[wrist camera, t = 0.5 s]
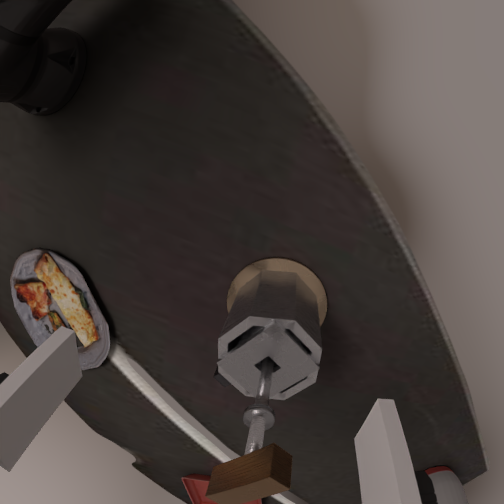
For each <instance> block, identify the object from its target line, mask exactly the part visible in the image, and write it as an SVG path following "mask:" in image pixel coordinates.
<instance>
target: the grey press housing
mask: <svg viewBox="0 0 504 504" xmlns="http://www.w3.org/2000/svg"><path fill="white" fill-rule="evenodd" d="M227 309H228V317H227V319H226V321H225V324H224V326H223V328H222V331H221V333H220V336H219V338H218V360H217V364H218V366H217V369H216V372H215V374H214V378H215V379H216V380H217V381H218V382H220V383H221V384H222V385H223V386H224V387H226V386H228V385H230V384H232V385H233V386H235V387H236V388H237V389H238V390H239V391H240V392H241V393H243V394H244V395H245V396H250V397H255V398H256V394H257V389H258V383H259V378H260V373H261V366H260V365H259V364H258V362H260V361H261V360H263V359H264V358H266V357H267V356H269V357H270V358H271V359H273V360H274V361H275V362H276V363H277V364H278V365H279V366H277V367H275V368H274V369H273V375H272V382H271V389H270V397H269V399H278V400H285V399H287V398H289V397H291V396H293V395H294V394H296V393H298V392H300V391H301V390H303V389H305V388H307V387H308V386H310V385H312V384H313V383H315V382H316V378H317V374H318V369H320V364H319V363H320V358H321V353H322V341H321V331H320V327H321V325H322V323H323V321H324V319H325V316H326V312H327V298H326V293H325V289H324V287H323V284H322V282H321V281H320V279H319V278H318V276H317V275H316V274H315V273H314V272H313V271H312V270H311V269H310V268H308V267H307V266H306V265H304V264H302V263H300V262H298V261H296V260H293V259H289V258H284V257H268V258H263V259H260V260H257V261H254V262H252V263H251V264H249V265H247V266H246V267H245V268H243V269H242V270H241V271H240V272H239V273H238V274H237V276H236V277H235V278H234V280H233V282H232V284H231V286H230V289H229V291H228V296H227ZM252 326H263V327H264V328H262V329H261V330H259V331H258V332H256V333H255V334H254V335H252V336H251V337H249V338H248V339H246V340H245V341H244V342H242V343H241V344H239V341H240V338H241V336H242V334H243V333H244V332H245V331H246V330H248V329H249V328H250V327H252ZM286 329H290V330H291V331H292V332H293V333H294V334H295V335H296V336H297V337H298V338H299V339H300V340H301V342H302V345H301V344H300V343H299V342H298V341H297V340H296V339H295V338H294V337H293V336H292V335H291V334H290V333H289V332H288V331H287V330H286Z"/></svg>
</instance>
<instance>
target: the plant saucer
mask: <svg viewBox="0 0 504 504" xmlns="http://www.w3.org/2000/svg"><path fill="white" fill-rule="evenodd" d="M210 478H211V476H208V475H200V474H191V475H187V476H185V477H182V481H183V483H184V485H185V488H186V490H187V492H188V494H189V496H190V498H191V500H192V502H193V504H218V503H216V502H214V501H212V500H211V499H209V498H207V497H205V495H206V491H207V488H208V485H209V481H210ZM242 504H262V501H261V499H257V500H253V501H250V502H246V503H242Z"/></svg>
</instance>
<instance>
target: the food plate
mask: <svg viewBox="0 0 504 504" xmlns="http://www.w3.org/2000/svg"><path fill="white" fill-rule="evenodd" d="M10 285H11V289H12V291H11V294H12V297H13V301H14V306H15V309H16V311H17V313H18V315H19V317H20V319H21V321H22V322H23V324H24V326H25V328H26V329H27V331H28V333H29V335H30V337H31V338H32V339H33V341H34V343H35V345H36V346H37V347H39V346H40V345H41V344H42V343H43V342H45V341H46V340H47V339H48V338H49V337H50V336H51V334H50V333H49V335H48V331H46V330H47V329H46V328H45V326H44V327H43V325H44V323H45V325H46V324H48V326H49V328H50V329H51V328H52V329H54V331H56V330H58V329H59V328H60V327H61V326H63V327H65V328H68V329H69V327H68V323H69V324H70V325H71V327H72V328H73V330H74V331H75V333H76V334H77V336H78V338H79V339H80V341H81V342H82V343H83V345H84V346H82V347H78V348H77V350H78V356H79V362H80V368H81V370H86V369H91V368H94V367H95V368H96V367H99V366H100V365H101V364H102V362H103V360H105V359H106V357H107V355H108V352H109V348H110V335H109V326H108V324H107V322H106V320H105V318H104V316H103V315H102V313H101V311H100V309H99V306H98V305H97V302H96V301H95V299H94V297H93V295H92V294H91V291H90V289H89V287H88V286H87V284H86V282H85V279H84V277H83V276H82V274H81V273H80V271H79V270H78V269H77V267H75V266H74V264H73V263H71V262H70V261H69V260H67V259H65V258H64V257H62V256H60V255H58V254H57V253H55V252H54V251H52V250H45V249H42V248H35V249H31V250H29V251H26V252H24V253H22V254H21V255H19V257H18V258H17V259H16V261H15V263H14V266H13V270H12V273H11V277H10ZM49 292H50V293H51V296H50V295H49ZM41 319H42V320H41ZM42 321H44V323H43V324H42ZM45 321H46V322H45ZM41 324H42V326H41ZM42 327H43V328H42ZM45 329H46V330H45ZM50 329H49V330H50ZM52 329H51V330H50V331H51V333H52V332H53V331H52Z"/></svg>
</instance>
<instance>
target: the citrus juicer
mask: <svg viewBox="0 0 504 504" xmlns="http://www.w3.org/2000/svg"><path fill="white" fill-rule="evenodd" d="M425 472H426V473H427V474H428V476H429V477H430V478H431V480H432V482H433V486H434V490H435V494H436V497H437V502H438V504H468V501H467V498H466V495H465V491H464V489H463V486H462V484H461V482H460V480H459V479H458V477H457V476H456V475H455V473H454V472H453V471H452V470H451V469H450V468H448V467H446V466H438V467H434V468H429V469H427V470H425Z"/></svg>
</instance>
